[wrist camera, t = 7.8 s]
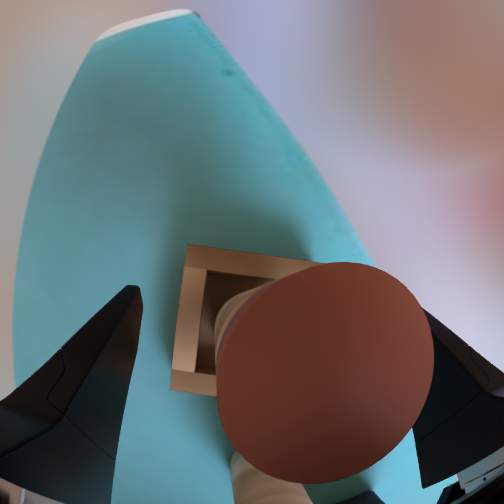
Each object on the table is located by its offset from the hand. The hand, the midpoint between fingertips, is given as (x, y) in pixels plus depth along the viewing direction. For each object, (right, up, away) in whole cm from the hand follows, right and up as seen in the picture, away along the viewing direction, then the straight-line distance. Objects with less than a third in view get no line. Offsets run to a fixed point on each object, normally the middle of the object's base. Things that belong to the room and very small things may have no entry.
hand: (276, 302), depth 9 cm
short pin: (0, -13, +7) cm, 14 cm away
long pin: (-1, -3, +7) cm, 8 cm away
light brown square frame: (-1, -3, +8) cm, 9 cm away
